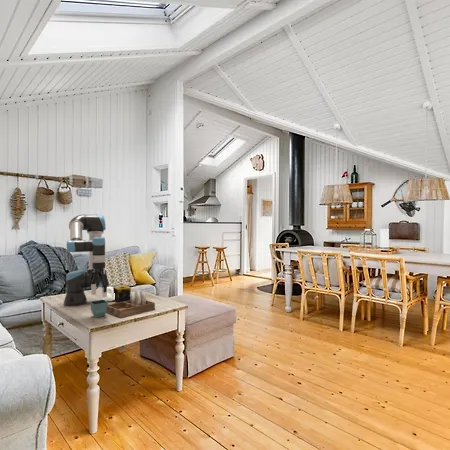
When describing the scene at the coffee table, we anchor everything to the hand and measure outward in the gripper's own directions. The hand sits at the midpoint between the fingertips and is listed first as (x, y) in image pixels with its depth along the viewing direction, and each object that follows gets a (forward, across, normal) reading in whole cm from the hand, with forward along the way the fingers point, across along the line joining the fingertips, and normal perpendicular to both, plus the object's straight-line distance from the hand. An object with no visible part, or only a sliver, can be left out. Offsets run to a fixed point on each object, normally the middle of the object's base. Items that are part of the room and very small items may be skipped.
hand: (98, 295), depth 204 cm
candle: (+13, -25, +31) cm, 42 cm away
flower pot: (+13, 0, 0) cm, 13 cm away
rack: (+13, +4, +20) cm, 24 cm away
